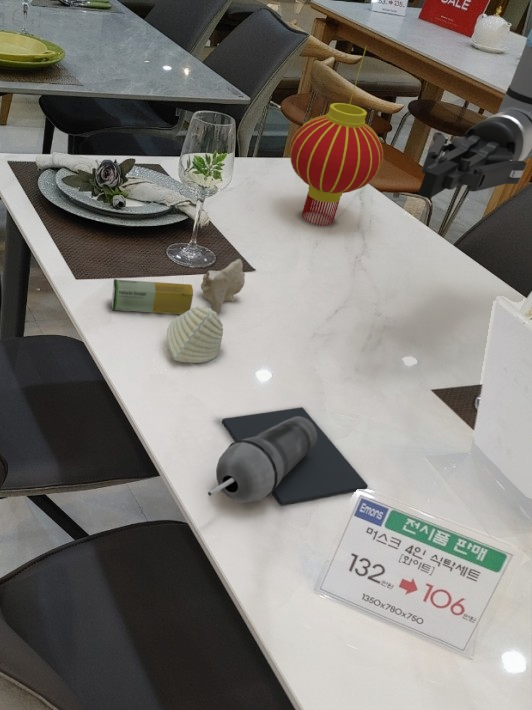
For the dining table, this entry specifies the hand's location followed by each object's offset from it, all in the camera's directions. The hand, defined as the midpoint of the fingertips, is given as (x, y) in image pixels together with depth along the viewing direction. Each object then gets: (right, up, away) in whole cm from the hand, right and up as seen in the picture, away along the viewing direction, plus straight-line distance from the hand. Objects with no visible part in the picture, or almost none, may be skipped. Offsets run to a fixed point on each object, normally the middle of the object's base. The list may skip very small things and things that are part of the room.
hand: (427, 185), depth 90 cm
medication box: (-32, -8, +27) cm, 43 cm away
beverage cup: (-14, -29, +4) cm, 32 cm away
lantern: (+1, +19, +61) cm, 64 cm away
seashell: (-27, -15, +21) cm, 37 cm away
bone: (-22, -5, +32) cm, 39 cm away
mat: (-15, -31, +6) cm, 35 cm away
